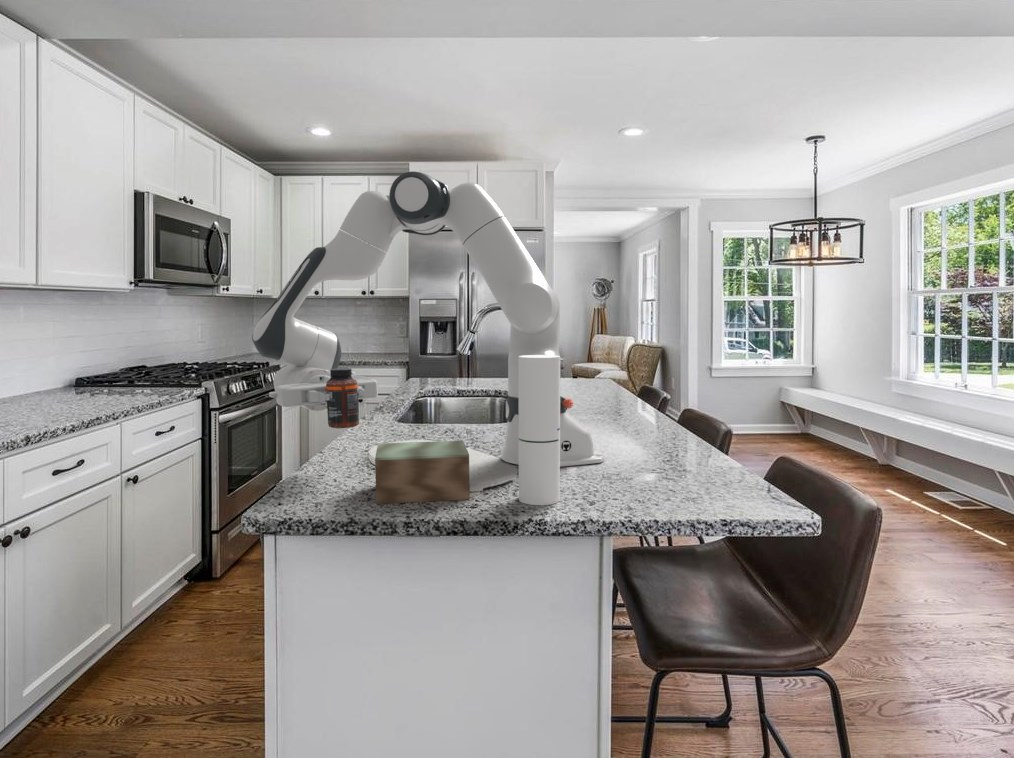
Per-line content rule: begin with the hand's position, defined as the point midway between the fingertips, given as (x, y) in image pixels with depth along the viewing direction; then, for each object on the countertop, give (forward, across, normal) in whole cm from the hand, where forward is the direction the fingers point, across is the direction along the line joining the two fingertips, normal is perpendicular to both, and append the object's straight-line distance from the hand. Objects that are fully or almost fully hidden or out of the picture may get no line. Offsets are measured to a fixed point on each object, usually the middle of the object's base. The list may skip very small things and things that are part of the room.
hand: (344, 395), depth 123 cm
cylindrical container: (+34, +20, +17) cm, 43 cm away
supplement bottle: (-1, 0, +6) cm, 6 cm away
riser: (+17, +7, +17) cm, 25 cm away
